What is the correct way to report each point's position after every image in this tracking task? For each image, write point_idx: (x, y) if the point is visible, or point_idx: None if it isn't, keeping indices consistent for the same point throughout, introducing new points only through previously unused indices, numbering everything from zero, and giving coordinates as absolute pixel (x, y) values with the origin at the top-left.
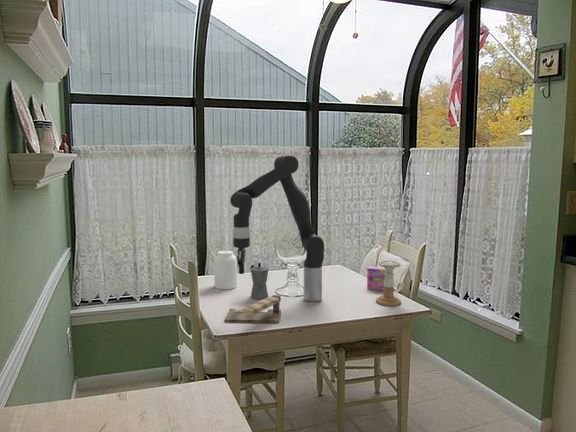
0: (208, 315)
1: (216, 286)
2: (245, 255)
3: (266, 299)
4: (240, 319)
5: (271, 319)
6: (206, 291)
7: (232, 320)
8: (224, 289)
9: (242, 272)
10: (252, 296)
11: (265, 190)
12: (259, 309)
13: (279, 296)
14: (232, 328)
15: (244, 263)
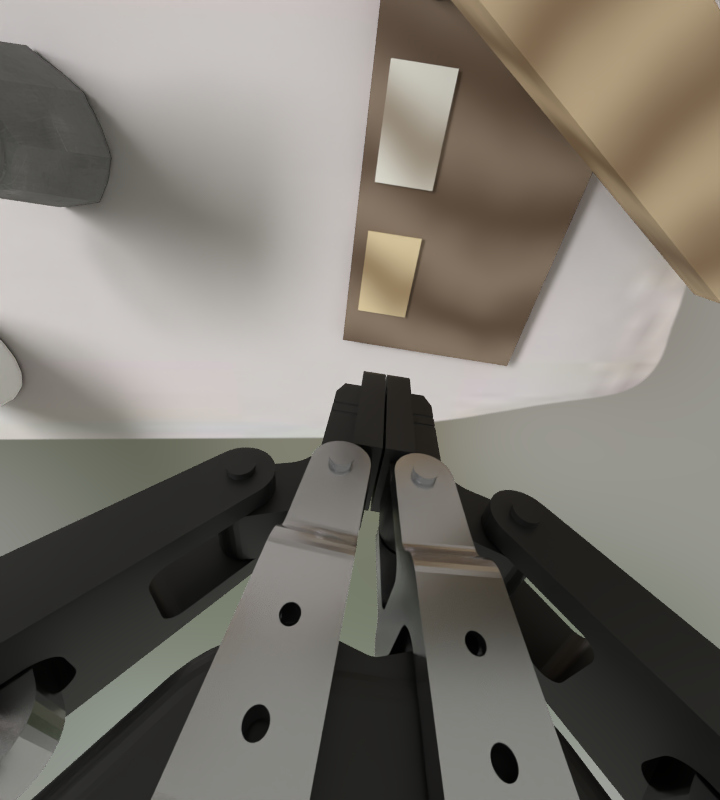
0: None
1: (11, 398)
2: (281, 730)
3: (565, 30)
4: (536, 286)
5: None
6: (81, 428)
7: (521, 328)
8: (13, 358)
9: (426, 404)
10: (91, 196)
11: None
12: None
13: None
14: (608, 325)
15: (348, 467)
